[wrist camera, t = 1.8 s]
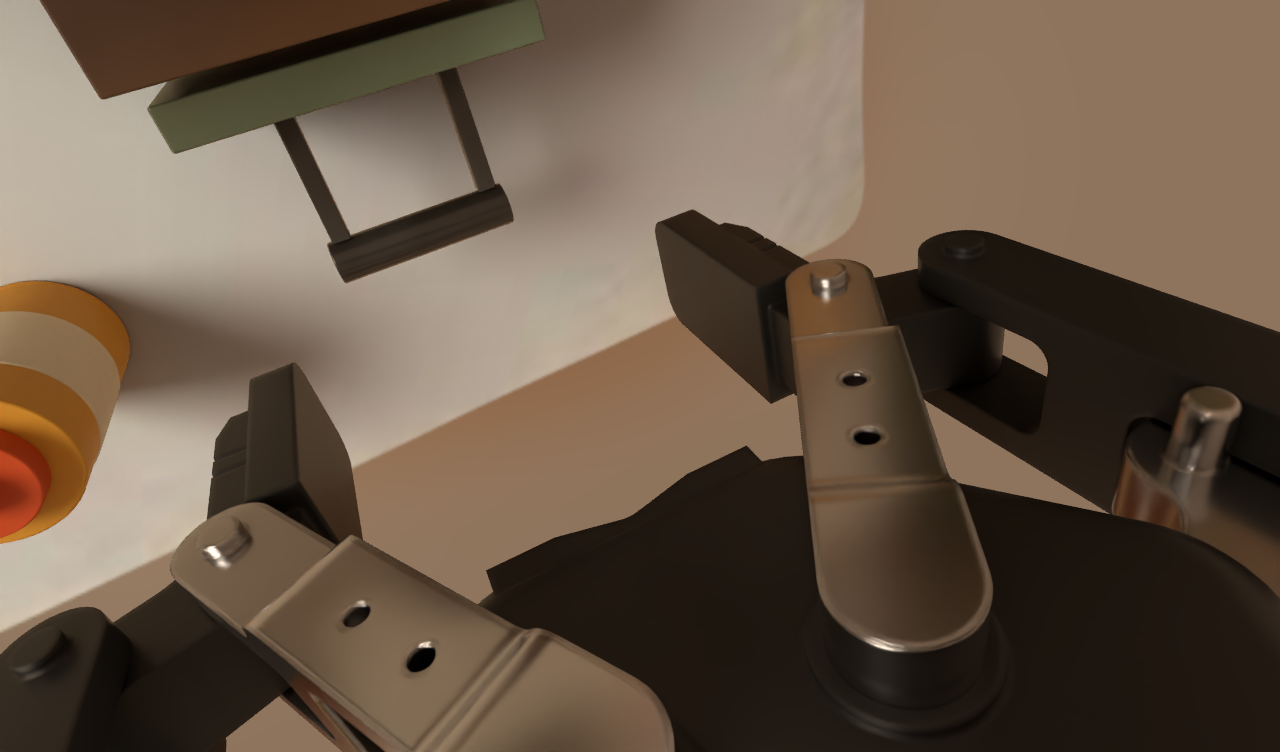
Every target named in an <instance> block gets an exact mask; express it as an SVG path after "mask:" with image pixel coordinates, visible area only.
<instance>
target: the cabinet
mask: <svg viewBox="0 0 1280 752" xmlns="http://www.w3.org/2000/svg"><path fill="white" fill-rule="evenodd" d="M447 1H451V0H40V2H41V3H42V5H43V7H44V8H45V10H46V12H47V13H48V15H49V16H50V18H51V20H52V21H53V23H54V25H55V26H56V28H57V29H58V31H59V33H60V34H61V36H62V38H63V39H64V41H65V42H66V44H67V46H68V47H69V49H70V51H71V52H72V54H73V55H74V57H75V59H76V60H77V62H78V64H79V65H80V67H81V68H82V70H83V72H84V73H85V75H86V77H87V78H88V80H89V81H90V83H91V85H92V86H93V88H94V90H95V91H96V93H97V94H98V96H99V97H100V98H101V99H108V98H111V97H115V96H118V95H122V94H125V93H129V92H132V91H136V90H139V89H143V88H146V87H150V86H153V85H157V84H160V83H164V82H167V81H171V80H174V79H178V78H181V77H185V76H188V75H192V74H195V73H199V72H202V71H206V70H209V69H213V68H216V67H220V66H223V65H227V64H230V63H234V62H237V61H241V60H244V59H248V58H251V57H255V56H258V55H262V54H265V53H269V52H272V51H276V50H279V49H283V48H286V47H290V46H293V45H297V44H300V43H304V42H307V41H311V40H314V39H318V38H321V37H325V36H328V35H332V34H335V33H339V32H342V31H346V30H349V29H353V28H356V27H360V26H363V25H367V24H370V23H374V22H377V21H381V20H384V19H388V18H391V17H395V16H398V15H402V14H405V13H409V12H412V11H416V10H419V9H423V8H426V7H430V6H433V5H437V4H440V3H444V2H447Z"/></svg>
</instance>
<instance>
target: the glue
mask: <svg viewBox="0 0 1280 752" xmlns="http://www.w3.org/2000/svg"><path fill="white" fill-rule="evenodd" d="M129 357H130V341H129V337H128V333H127V331H126V329H125V326H124V325H123V323H122V322H121V320H120V319H119V317H118V316H117V315H116V314H115V313H114V311H112V310H111V309H110V308H109V307H108V306H107V305H106V304H104V303H103V302H102V301H100V300H99V299H98V298H96V297H94V296H92V295H91V294H89V293H87V292H84V291H82V290H80V289H77V288H74V287H71V286H68V285H64V284H60V283H54V282H47V281H24V282H17V283H12V284H8V285H4V286H1V287H0V544H1V543H7V542H12V541H16V540H20V539H24V538H27V537H30V536H33V535H36V534H38V533H40V532H42V531H45V530H47V529H49V528H50V527H52V526H53V525H55V524H57V523H58V522H60V521H61V520H62V519H64V518H65V517H66V516H67V515H68V514H69V513H70V512H71V511H72V510H73V509H74V508H75V507H76V506H77V504H78V503H79V501H80V500H81V498H82V496H83V494H84V492H85V489H86V486H87V483H88V480H89V477H90V474H91V471H92V468H93V465H94V463H95V462H96V460H97V458H98V456H99V453H100V450H101V447H102V444H103V441H104V438H105V435H106V432H107V429H108V426H109V423H110V420H111V417H112V414H113V411H114V408H115V405H116V402H117V399H118V395H119V391H120V385H121V382H122V379H123V376H124V373H125V370H126V367H127V364H128V360H129Z"/></svg>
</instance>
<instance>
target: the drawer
mask: <svg viewBox="0 0 1280 752" xmlns="http://www.w3.org/2000/svg"><path fill="white" fill-rule="evenodd" d="M545 38H546V37H545V33H544V29H543V25H542V21H541V17H540V13H539V10H538V6H537V2H536V0H451V1H447V2H444V3H440V4H437V5H433V6H430V7H426V8H423V9H419V10H416V11H412V12H409V13H405V14H402V15H398V16H395V17H391V18H388V19H384V20H381V21H377V22H374V23H370V24H367V25H363V26H360V27H356V28H353V29H349V30H346V31H342V32H339V33H335V34H332V35H328V36H325V37H321V38H318V39H314V40H311V41H307V42H304V43H300V44H297V45H293V46H290V47H286V48H283V49H279V50H276V51H272V52H269V53H265V54H262V55H258V56H255V57H251V58H248V59H244V60H241V61H237V62H234V63H230V64H227V65H223V66H220V67H216V68H213V69H209V70H206V71H202V72H199V73H195V74H192V75H188V76H185V77H181V78H178V79H174V80H171V81H167V83H166V84H165V85H164V87H163V88H162V89H161V91H160V92H159V93H158V95H157V96H156V97H155V99H154V100H153V101H152V103H151V104H150V105H149V107H148V108H147V109H148V112H149V114H150V115H151V117H152V119H153V120H154V122H155V124H156V125H157V127H158V129H159V131H160V132H161V134H162V136H163V137H164V139H165V141H166V143H167V144H168V146H169V148H170V149H171V151H172V152H173V153H175V154H177V153H180V152H183V151H186V150H190V149H193V148H196V147H199V146H203V145H206V144H209V143H212V142H216V141H219V140H222V139H225V138H229V137H232V136H235V135H238V134H242V133H245V132H248V131H251V130H255V129H258V128H261V127H264V126H268V125H271V124H274V125H275V127H276V129H277V131H278V133H279V135H280V137H281V139H282V141H283V143H284V145H285V147H286V149H287V151H288V153H289V155H290V157H291V160H292V162H293V164H294V166H295V168H296V170H297V172H298V174H299V176H300V178H301V180H302V182H303V184H304V186H305V188H306V190H307V192H308V194H309V196H310V198H311V200H312V202H313V204H314V206H315V208H316V210H317V212H318V214H319V217H320V219H321V221H322V223H323V225H324V227H325V229H326V231H327V233H328V235H329V237H330V239H331V241H332V242H329V243H328V244H327V246H328V249H329V252H330V255H331V257H332V259H333V262H334V264H335V266H336V268H337V270H338V272H339V274H340V276H341V278H342V279H343V281H344V282H345V283H348V282H351V281H354V280H357V279H359V278H362V277H365V276H368V275H370V274H373V273H376V272H378V271H381V270H384V269H387V268H389V267H392V266H395V265H398V264H400V263H403V262H406V261H408V260H411V259H414V258H417V257H419V256H422V255H425V254H428V253H430V252H433V251H436V250H438V249H441V248H444V247H447V246H449V245H452V244H455V243H458V242H460V241H463V240H466V239H468V238H471V237H474V236H477V235H479V234H482V233H485V232H488V231H490V230H493V229H496V228H498V227H501V226H504V225H507V224H509V223H512V222H513V221H514V217H513V212H512V209H511V206H510V203H509V201H508V198H507V196H506V194H505V192H504V190H503V188H502V186H501V185H500V184H499V183H497V184H495V182H494V179H493V176H492V173H491V170H490V167H489V164H488V161H487V158H486V155H485V152H484V149H483V146H482V143H481V140H480V137H479V134H478V131H477V128H476V125H475V122H474V119H473V116H472V113H471V110H470V107H469V104H468V101H467V98H466V95H465V92H464V89H463V86H462V83H461V80H460V77H459V74H458V71H457V68H456V67H459V66H462V65H465V64H469V63H472V62H475V61H478V60H481V59H485V58H488V57H491V56H494V55H498V54H501V53H504V52H507V51H511V50H514V49H517V48H520V47H524V46H527V45H530V44H533V43H537V42H540V41H543V40H545ZM433 74H436V76H437V78H438V81H439V84H440V87H441V90H442V93H443V96H444V98H445V101H446V104H447V107H448V110H449V113H450V116H451V118H452V121H453V124H454V127H455V130H456V133H457V136H458V138H459V141H460V144H461V147H462V150H463V153H464V156H465V158H466V161H467V164H468V167H469V170H470V173H471V176H472V178H473V181H474V184H475V187H476V188H477V191H474V192H472V193H469V194H466V195H463V196H460V197H457V198H454V199H452V200H449V201H446V202H443V203H440V204H437V205H435V206H432V207H429V208H426V209H423V210H420V211H417V212H415V213H412V214H409V215H406V216H403V217H400V218H398V219H395V220H392V221H389V222H386V223H383V224H381V225H378V226H375V227H372V228H369V229H366V230H363V231H361V232H358V233H355V234H352V235H350V232H349V230H348V228H347V226H346V224H345V221H344V219H343V217H342V215H341V213H340V211H339V209H338V207H337V204H336V202H335V200H334V198H333V196H332V194H331V192H330V190H329V188H328V185H327V183H326V181H325V179H324V177H323V175H322V173H321V171H320V168H319V166H318V164H317V162H316V160H315V158H314V156H313V154H312V151H311V149H310V147H309V145H308V143H307V141H306V139H305V137H304V135H303V132H302V130H301V128H300V126H299V124H298V122H297V120H296V118H295V117H297V116H300V115H303V114H306V113H310V112H313V111H316V110H319V109H323V108H326V107H329V106H332V105H336V104H339V103H342V102H345V101H349V100H352V99H355V98H358V97H362V96H365V95H368V94H371V93H374V92H378V91H381V90H384V89H387V88H391V87H394V86H397V85H400V84H404V83H407V82H410V81H413V80H417V79H420V78H423V77H426V76H430V75H433Z"/></svg>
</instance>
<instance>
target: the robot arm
mask: <svg viewBox="0 0 1280 752" xmlns="http://www.w3.org/2000/svg"><path fill="white" fill-rule="evenodd" d="M655 234H656V240H657V245H658V249H659V254H660V259H661V264H662V268H663V273H664V278H665V282H666V287H667V292H668V296H669V300H670V303H671V305H672V308H673V310H674V312H675V314H676V316H677V317H678V319H679V320H680V321H681V323H682V324H683V325H684V326H686V328H688V329H689V330H690V331H691V332H692V333H693V334H694V335H695V336H696V337H698V338H699V339H700V340H701V341H702V342H703V343H704V344H705V345H706V346H708V347H709V348H710V349H711V350H712V351H713V352H714V353H715V354H716V355H717V356H719V357H720V358H721V359H722V360H723V361H724V362H725V363H726V364H727V365H729V366H730V367H731V368H732V369H733V370H734V371H735V372H736V373H737V374H739V375H740V376H741V377H742V378H743V379H744V380H745V381H746V382H747V383H749V384H750V385H751V386H752V387H753V388H754V389H755V390H756V391H757V392H758V393H760V394H761V395H762V396H763V397H764V398H765V399H766V400H767V401H768V402H770V403H771V404H772V403H774V402H776V401H778V400H780V399H782V398H784V397H787V396H789V395H791V394H793V393H794V394H795V395H796V396H797V401H798V410H799V420H800V428H801V439H802V448H803V456H791V457H782V458H776V459H770V460H766V461H761V460H760V459H759V458H758V457H757V456H756V455H755V454H754V453H753V452H752V451H751V450H750V449H749V448H748V447H747V446H745V447H743V448H741V449H738V450H737V451H734V452H732V453H730V454H728V455H726V456H724V457H722V458H720V459H718V460H716V461H713V462H711V463H709V464H707V465H705V466H703V467H701V468H699V469H697V470H695V471H693V472H691V473H688V474H687V475H685V476H684V477H683V478H681V479H680V480H679V481H677V482H676V483H675V484H674V485H672V486H671V487H669V488H668V489H667V490H665V491H664V492H663V493H661V494H660V495H659V496H658V497H656V498H655V499H654V500H652V501H651V502H650V503H649V504H647V505H646V506H644V507H643V508H642V509H640V510H639V511H638V512H636V513H635V514H633V515H632V516H630V517H628V518H625V519H622V520H618V521H615V522H611V523H607V524H604V525H600V526H597V527H592V528H589V529H585V530H582V531H578V532H574V533H570V534H566V535H563V536H559V537H555V538H553V539H551V540H549V541H547V542H545V543H542V544H540V545H538V546H536V547H534V548H532V549H530V550H528V551H526V552H524V553H522V554H520V555H517V556H516V557H514V558H511V559H509V560H507V561H505V562H503V563H501V564H499V565H497V566H495V567H493V568H490V569H488V570H486V572H487V574H488V577H489V580H490V583H491V586H492V589H493V592H492V593H491V594H490V595H488V596H487V597H486V598H485V599H483V600H482V601H481V602H480V603H479V604H476V603H474V602H472V601H470V600H469V599H467V598H465V597H463V596H461V595H460V594H458V593H456V592H454V591H453V590H451V589H449V588H447V587H445V586H444V585H442V584H440V583H438V582H437V581H435V580H433V579H431V578H430V577H427V576H426V575H424V574H422V573H421V572H419V571H417V570H415V569H413V568H412V567H410V566H408V565H406V564H405V563H403V562H401V561H399V560H397V559H396V558H394V557H392V556H390V555H389V554H387V553H385V552H383V551H381V550H380V549H378V548H376V547H374V546H373V545H371V544H369V543H367V542H365V541H364V540H363V537H362V532H361V525H360V518H359V512H358V506H357V499H356V493H355V487H354V480H353V474H352V468H351V462H350V459H349V456H348V453H347V450H346V448H345V445H344V443H343V441H342V439H341V437H340V435H339V433H338V431H337V429H336V428H335V426H334V424H333V422H332V421H331V419H330V417H329V416H328V414H327V412H326V410H325V409H324V407H323V405H322V404H321V402H320V400H319V398H318V397H317V395H316V393H315V392H314V390H313V388H312V387H311V385H310V383H309V381H308V380H307V378H306V376H305V375H304V373H303V371H302V370H301V369H300V367H299V366H298V365H297V364H296V363H291V364H289V365H286V366H283V367H281V368H278V369H276V370H273V371H270V372H268V373H265V374H263V375H260V376H258V377H255V378H252V379H251V380H250V384H249V405H248V411H246V412H244V413H241V414H239V415H236V416H234V417H231V418H230V419H229V421H228V422H227V424H226V425H225V427H224V428H223V429H222V431H221V432H220V434H219V435H218V437H217V438H216V442H215V451H214V460H215V462H213V469H212V475H213V478H211V487H210V496H209V505H208V514H207V520H206V521H205V522H203V523H202V524H201V525H199V526H198V527H197V528H196V529H194V530H193V531H192V532H191V533H190V534H189V535H188V536H187V537H186V538H185V539H184V540H183V541H182V543H181V544H180V545H179V546H178V548H177V549H176V551H175V553H174V555H173V557H172V560H171V563H170V572H171V575H172V576H173V578H174V579H175V581H173V582H172V583H171V584H170V585H168V586H167V587H166V588H165V589H163V590H162V591H161V592H159V593H158V594H156V595H155V596H153V597H152V598H150V599H149V600H147V601H146V602H144V603H143V604H141V605H139V606H138V607H136V608H135V609H133V610H132V611H130V612H129V613H127V614H126V615H124V616H123V617H121V618H120V619H118V620H117V621H115V622H114V623H113V622H112V621H111V620H110V619H109V618H108V617H107V616H106V615H105V614H104V613H103V612H102V611H101V610H99V609H97V608H94V607H93V608H92V607H79V608H75V609H70V610H68V611H65V612H62V613H59V614H57V615H55V616H53V617H51V618H49V619H47V620H45V621H43V622H41V623H39V624H38V625H36V626H35V627H33V628H32V629H30V630H29V631H27V632H26V633H25V634H23V635H22V636H21V637H19V638H18V639H17V640H16V641H14V642H13V643H12V644H11V645H10V646H9V647H8V648H7V649H6V650H5V651H4V652H3V653H2V654H0V752H226V737H227V736H229V735H230V734H231V733H232V732H234V731H235V730H236V729H237V728H239V727H240V726H241V725H243V724H244V723H245V722H246V721H247V720H249V719H250V718H252V717H253V716H254V715H255V714H257V713H258V712H259V711H260V710H262V709H263V708H264V707H266V706H267V705H268V704H269V703H271V702H272V701H273V700H274V699H276V698H277V697H278V696H279V697H280V698H281V699H282V700H283V701H285V702H286V703H287V704H288V705H289V706H290V707H291V708H293V709H294V710H295V711H296V712H297V713H298V714H299V715H301V716H302V717H303V718H304V719H305V720H307V721H308V722H309V723H310V724H311V725H312V726H313V727H314V728H316V729H317V730H318V731H319V732H320V733H321V734H322V735H324V736H325V737H326V738H327V739H328V740H329V741H331V742H332V743H333V744H334V745H335V746H336V747H338V748H339V749H340V750H341V751H342V752H1280V332H1277V331H1274V330H1272V329H1269V328H1266V327H1263V326H1260V325H1257V324H1254V323H1251V322H1248V321H1245V320H1243V319H1240V318H1237V317H1234V316H1231V315H1228V314H1225V313H1222V312H1219V311H1217V310H1214V309H1211V308H1208V307H1205V306H1202V305H1199V304H1196V303H1193V302H1190V301H1187V300H1185V299H1182V298H1179V297H1176V296H1173V295H1170V294H1167V293H1164V292H1161V291H1158V290H1156V289H1153V288H1150V287H1147V286H1144V285H1141V284H1138V283H1135V282H1132V281H1130V280H1127V279H1124V278H1121V277H1118V276H1115V275H1112V274H1109V273H1106V272H1104V271H1101V270H1098V269H1095V268H1092V267H1089V266H1086V265H1083V264H1080V263H1077V262H1075V261H1072V260H1069V259H1066V258H1063V257H1060V256H1057V255H1054V254H1051V253H1048V252H1046V251H1043V250H1040V249H1037V248H1034V247H1031V246H1028V245H1025V244H1022V243H1020V242H1016V241H1013V240H1011V239H1008V238H1005V237H1002V236H999V235H996V234H993V233H989V232H984V231H976V230H960V231H952V232H946V233H943V234H939V235H936V236H934V237H931V238H929V239H928V240H926V241H925V242H923V243H922V244H921V246H920V247H919V250H918V269H914V270H910V271H905V272H900V273H896V274H892V275H887V276H882V277H876V278H874V276H873V274H872V272H871V270H870V269H869V268H868V267H867V266H865V265H864V264H861V263H859V262H856V261H852V260H846V259H826V260H820V261H815V262H811V263H809V262H807V261H806V260H804V259H802V258H800V257H799V256H797V255H795V254H793V253H792V252H790V251H788V250H787V249H785V248H783V247H781V246H780V245H779V246H777V245H776V243H774V242H773V241H771V240H769V239H767V238H765V239H764V237H763V236H762V235H761V234H759V233H757V232H755V231H754V230H752V229H750V228H748V227H744V226H739V225H734V224H728V223H723V224H720V225H718V224H717V223H715V222H713V221H712V220H710V219H708V218H707V217H705V216H704V215H702V214H700V213H699V212H697V211H695V210H689V211H686V212H684V213H681V214H679V215H676V216H673V217H671V218H668V219H666V220H663V221H660V222H658V223H657V224H656V228H655ZM1005 329H1007V330H1009V331H1011V332H1013V333H1016V334H1018V335H1020V336H1023V337H1024V338H1026V339H1028V340H1030V341H1032V342H1034V343H1035V344H1036V345H1037V346H1038V347H1039V348H1040V349H1041V350H1042V352H1043V353H1044V355H1045V357H1046V359H1047V362H1048V374H1047V377H1046V376H1044V375H1042V374H1040V373H1038V372H1036V371H1034V370H1032V369H1029V368H1028V367H1026V366H1024V365H1022V364H1020V363H1018V362H1016V361H1014V360H1011V359H1010V358H1007V357H1006V356H1004V355H1002V352H1003V341H1004V331H1005ZM924 400H926V401H927V402H929V403H930V404H932V405H934V406H935V407H937V408H939V409H940V410H942V411H943V412H945V413H947V414H948V415H950V416H951V417H953V418H955V419H956V420H958V421H960V422H961V423H963V424H965V425H966V426H968V427H969V428H971V429H973V430H974V431H976V432H978V433H979V434H981V435H982V436H984V437H986V438H988V439H989V440H991V441H992V442H994V443H995V444H997V445H999V446H1001V447H1002V448H1004V449H1005V450H1007V451H1009V452H1010V453H1012V454H1013V455H1015V456H1017V457H1018V458H1020V459H1022V460H1023V461H1025V462H1026V463H1028V464H1030V465H1031V466H1033V467H1035V468H1037V469H1038V470H1039V471H1041V472H1043V473H1044V474H1046V475H1048V476H1049V477H1051V478H1052V479H1054V480H1056V481H1057V482H1059V483H1061V484H1062V485H1064V486H1066V487H1067V488H1069V489H1070V490H1072V491H1074V492H1075V493H1077V494H1079V495H1080V496H1082V497H1084V498H1085V499H1087V500H1088V501H1090V502H1092V503H1094V504H1095V505H1097V506H1098V507H1100V508H1102V509H1103V510H1105V511H1106V512H1108V513H1110V514H1106V513H1101V512H1097V511H1092V510H1087V509H1082V508H1078V507H1072V506H1068V505H1063V504H1058V503H1053V502H1048V501H1043V500H1039V499H1033V498H1029V497H1024V496H1019V495H1014V494H1009V493H1005V492H999V491H995V490H990V489H985V488H980V487H975V486H970V485H966V484H961V483H958V482H957V481H956V480H954V479H952V478H951V477H950V476H949V474H948V472H947V468H946V466H945V462H944V460H943V456H942V453H941V450H940V447H939V445H938V441H937V438H936V435H935V432H934V429H933V426H932V423H931V420H930V417H929V414H928V411H927V408H926V405H925V402H924Z"/></svg>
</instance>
